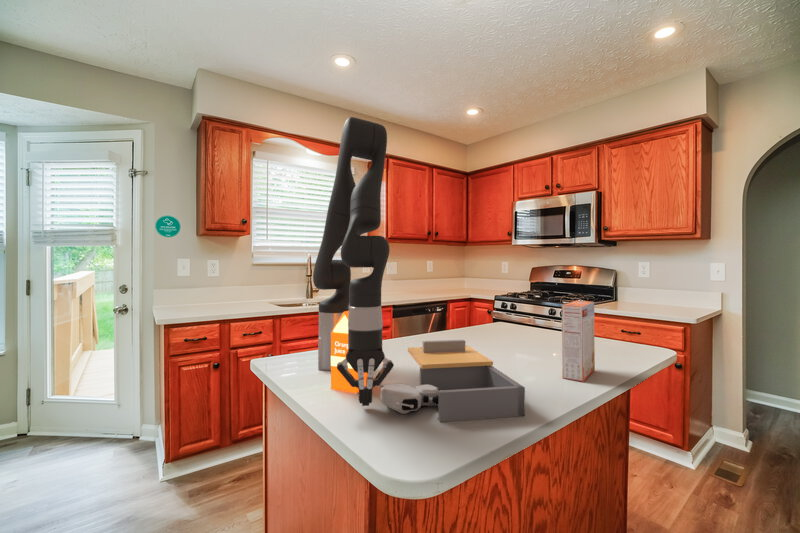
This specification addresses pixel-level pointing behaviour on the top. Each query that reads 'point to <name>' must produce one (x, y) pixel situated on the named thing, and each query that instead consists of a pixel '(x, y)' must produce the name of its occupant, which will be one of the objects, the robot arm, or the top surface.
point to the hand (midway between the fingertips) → (365, 404)
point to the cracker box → (578, 340)
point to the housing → (474, 393)
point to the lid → (447, 355)
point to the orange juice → (341, 356)
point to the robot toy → (408, 396)
